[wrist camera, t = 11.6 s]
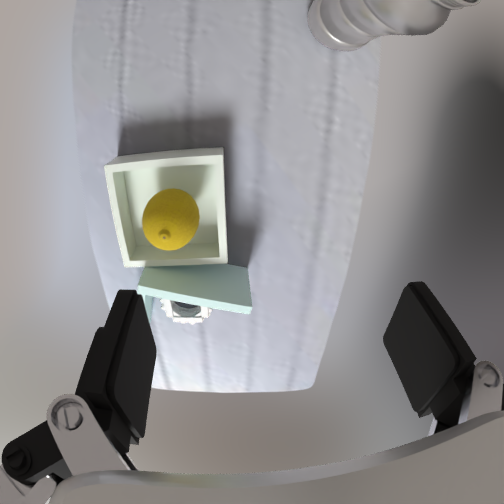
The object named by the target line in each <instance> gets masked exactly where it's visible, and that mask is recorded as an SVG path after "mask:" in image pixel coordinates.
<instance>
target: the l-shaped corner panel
mask: <svg viewBox="0 0 504 504" xmlns="http://www.w3.org/2000/svg"><path fill="white" fill-rule="evenodd" d="M137 294H141V295H142V297H143V300H144V304H145V308H146V312H147V316H148V320H149V324H150V322H151V314H152V303H153V297H158V298H161V299H160V302H162V304H161V305H162V306H161V309H163V310H164V311H166V316H167V317H173V321H174V322H181V323H182V324H184V323H186V322H188V323H190V324H192V325H193V324H194V323H196V322H203V320H204V318H208V317H209V316H210V312H211V311H212V308H214V309H220V310H225V311H231V312H237V313H243V314H249V315H250V312H251V309H252V300H251V292H250V284H249V275H248V268H245V267H240V266H235V265H230V264H202V265H177V266H151V267H145V268H144V270H143V273H142V275H141V278H140V281H139V283H138V290H137ZM174 301H177V302H182V303H187V304H193V305H198V306H196V307H194V308H192V309H188V308H183V307H179V306H178V305H177V304H176V303H175V302H174Z"/></svg>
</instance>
